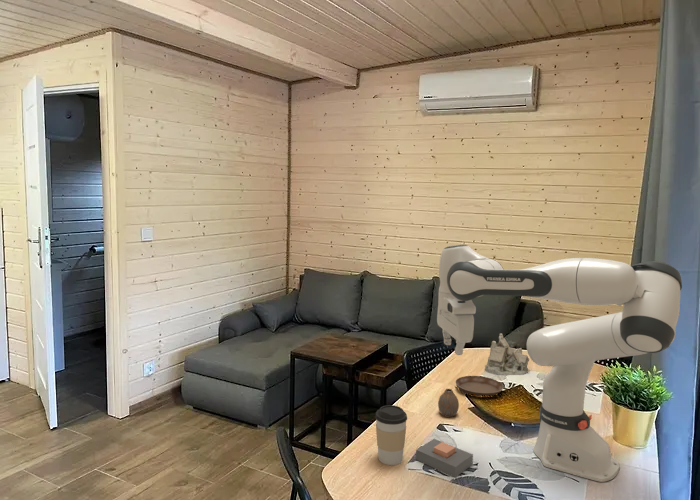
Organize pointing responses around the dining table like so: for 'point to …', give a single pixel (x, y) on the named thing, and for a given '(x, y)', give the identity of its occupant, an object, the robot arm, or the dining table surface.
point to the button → (444, 450)
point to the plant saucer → (478, 385)
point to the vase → (448, 403)
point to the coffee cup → (390, 434)
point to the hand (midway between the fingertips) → (452, 349)
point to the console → (444, 459)
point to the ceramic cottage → (506, 359)
